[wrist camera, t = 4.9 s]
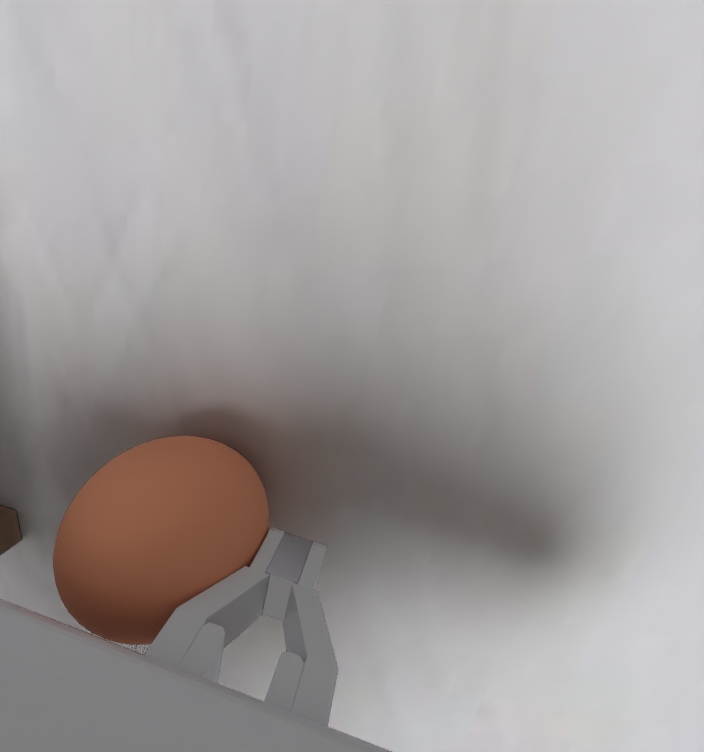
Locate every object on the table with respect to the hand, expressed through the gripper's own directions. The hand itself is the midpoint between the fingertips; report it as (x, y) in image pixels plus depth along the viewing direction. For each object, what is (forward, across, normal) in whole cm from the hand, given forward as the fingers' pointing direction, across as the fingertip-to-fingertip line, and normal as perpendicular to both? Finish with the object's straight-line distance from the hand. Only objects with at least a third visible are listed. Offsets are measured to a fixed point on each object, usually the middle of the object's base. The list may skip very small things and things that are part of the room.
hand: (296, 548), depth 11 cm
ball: (-1, -4, 0) cm, 4 cm away
